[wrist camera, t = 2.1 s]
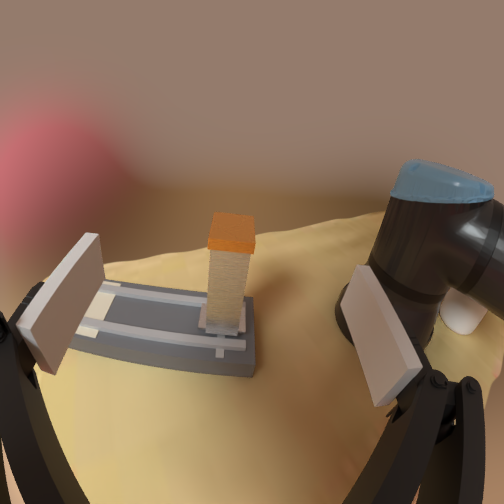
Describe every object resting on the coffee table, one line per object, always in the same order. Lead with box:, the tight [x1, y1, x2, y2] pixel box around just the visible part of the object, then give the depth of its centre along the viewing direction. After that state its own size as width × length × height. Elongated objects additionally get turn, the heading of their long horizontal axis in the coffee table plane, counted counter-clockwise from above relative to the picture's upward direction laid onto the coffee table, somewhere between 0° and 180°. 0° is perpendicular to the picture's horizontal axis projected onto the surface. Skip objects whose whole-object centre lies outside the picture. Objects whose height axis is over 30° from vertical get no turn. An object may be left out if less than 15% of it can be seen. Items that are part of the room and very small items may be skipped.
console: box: [68, 279, 256, 377], centre depth 30 cm, size 21×10×3 cm, turn 91°
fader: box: [198, 212, 256, 336], centre depth 27 cm, size 5×5×11 cm
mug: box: [440, 287, 488, 335], centre depth 37 cm, size 12×8×10 cm
